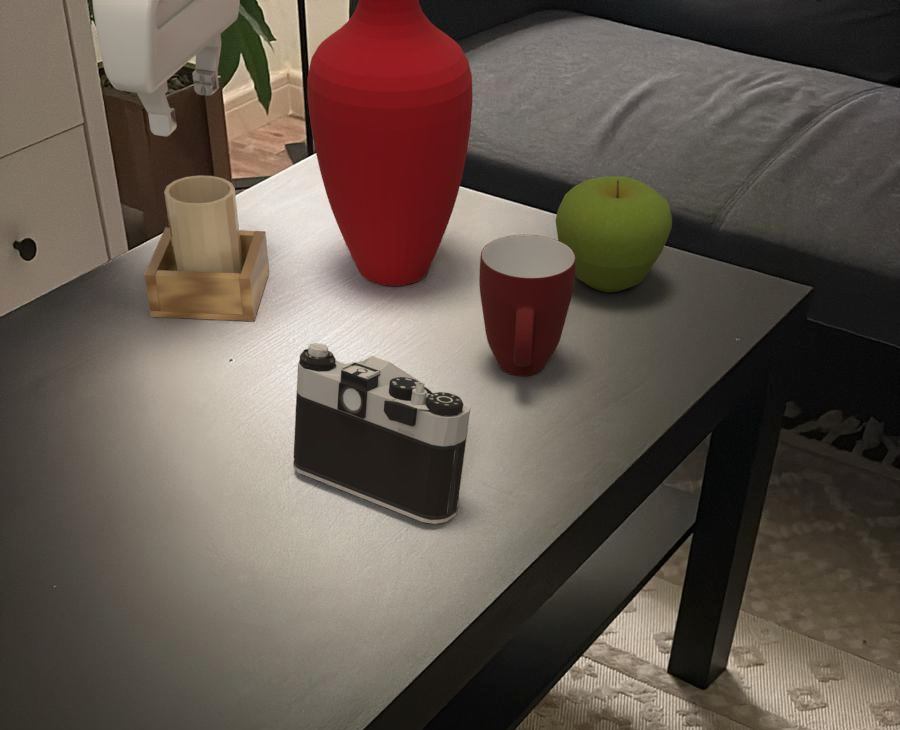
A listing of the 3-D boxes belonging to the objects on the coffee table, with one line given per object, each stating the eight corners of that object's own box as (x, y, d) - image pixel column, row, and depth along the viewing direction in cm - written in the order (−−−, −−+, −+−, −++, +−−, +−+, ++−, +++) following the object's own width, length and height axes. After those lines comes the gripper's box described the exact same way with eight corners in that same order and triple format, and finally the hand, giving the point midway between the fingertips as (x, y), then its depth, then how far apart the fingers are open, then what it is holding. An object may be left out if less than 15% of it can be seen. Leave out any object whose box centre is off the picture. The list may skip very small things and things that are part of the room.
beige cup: (173, 300, 120) (158, 203, 113) (185, 269, 124) (172, 174, 118) (238, 303, 120) (228, 206, 113) (249, 272, 124) (239, 176, 117)
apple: (533, 293, 124) (540, 188, 116) (580, 250, 130) (589, 148, 123) (635, 322, 120) (649, 215, 113) (679, 277, 127) (695, 173, 119)
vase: (350, 228, 132) (335, -120, 110) (487, 251, 130) (499, -102, 107) (295, 293, 123) (266, -74, 101) (441, 319, 120) (444, -53, 98)
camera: (500, 487, 104) (518, 367, 98) (430, 532, 97) (445, 405, 91) (353, 432, 109) (361, 314, 103) (275, 471, 102) (279, 346, 96)
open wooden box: (151, 317, 120) (143, 274, 117) (171, 268, 126) (165, 227, 123) (254, 321, 119) (249, 278, 116) (269, 272, 126) (265, 231, 123)
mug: (575, 403, 111) (586, 292, 103) (483, 405, 110) (487, 294, 103) (560, 341, 118) (569, 233, 110) (472, 343, 117) (476, 234, 110)
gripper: (178, -114, 107) (198, 66, 118) (68, -44, 94) (101, 152, 104) (249, -106, 107) (263, 75, 117) (148, -35, 93) (174, 162, 103)
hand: (186, 112), depth 111 cm, fingers open, 8 cm apart
